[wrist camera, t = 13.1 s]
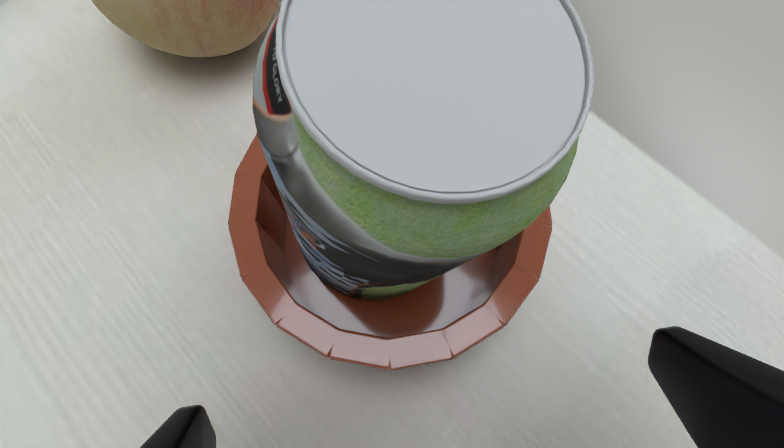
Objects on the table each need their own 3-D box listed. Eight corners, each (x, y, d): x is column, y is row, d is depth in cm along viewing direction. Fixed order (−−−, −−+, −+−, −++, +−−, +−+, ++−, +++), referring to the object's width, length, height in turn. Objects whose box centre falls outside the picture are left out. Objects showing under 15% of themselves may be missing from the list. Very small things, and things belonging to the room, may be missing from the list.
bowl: (563, 283, 17) (619, 255, 13) (336, 423, 16) (317, 443, 11) (431, 98, 20) (442, 27, 16) (228, 197, 19) (180, 146, 14)
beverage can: (338, 150, 19) (263, -185, 7) (494, 205, 18) (678, -77, 7) (275, 277, 17) (42, 87, 5) (447, 346, 16) (594, 291, 5)
